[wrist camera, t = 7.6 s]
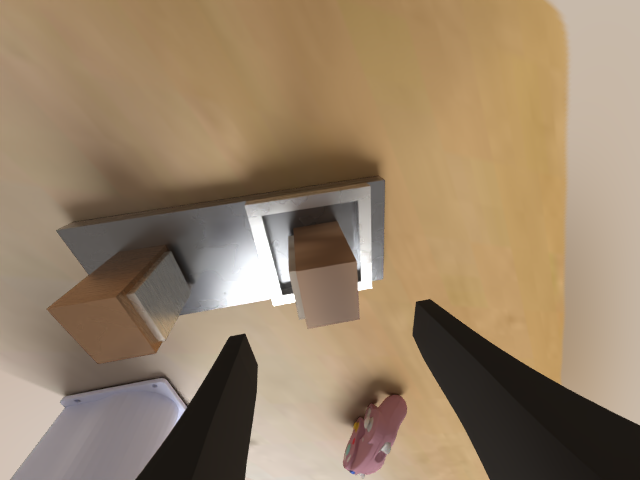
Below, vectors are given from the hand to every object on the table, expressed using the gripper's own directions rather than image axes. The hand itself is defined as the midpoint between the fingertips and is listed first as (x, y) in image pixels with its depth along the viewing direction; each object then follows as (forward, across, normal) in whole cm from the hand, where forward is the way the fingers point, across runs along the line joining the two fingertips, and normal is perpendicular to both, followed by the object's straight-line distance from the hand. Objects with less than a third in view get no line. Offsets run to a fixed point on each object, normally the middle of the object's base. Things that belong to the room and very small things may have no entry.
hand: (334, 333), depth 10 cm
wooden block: (+8, 0, 0) cm, 8 cm away
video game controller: (+9, -4, +27) cm, 29 cm away
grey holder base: (+9, +5, 0) cm, 10 cm away
